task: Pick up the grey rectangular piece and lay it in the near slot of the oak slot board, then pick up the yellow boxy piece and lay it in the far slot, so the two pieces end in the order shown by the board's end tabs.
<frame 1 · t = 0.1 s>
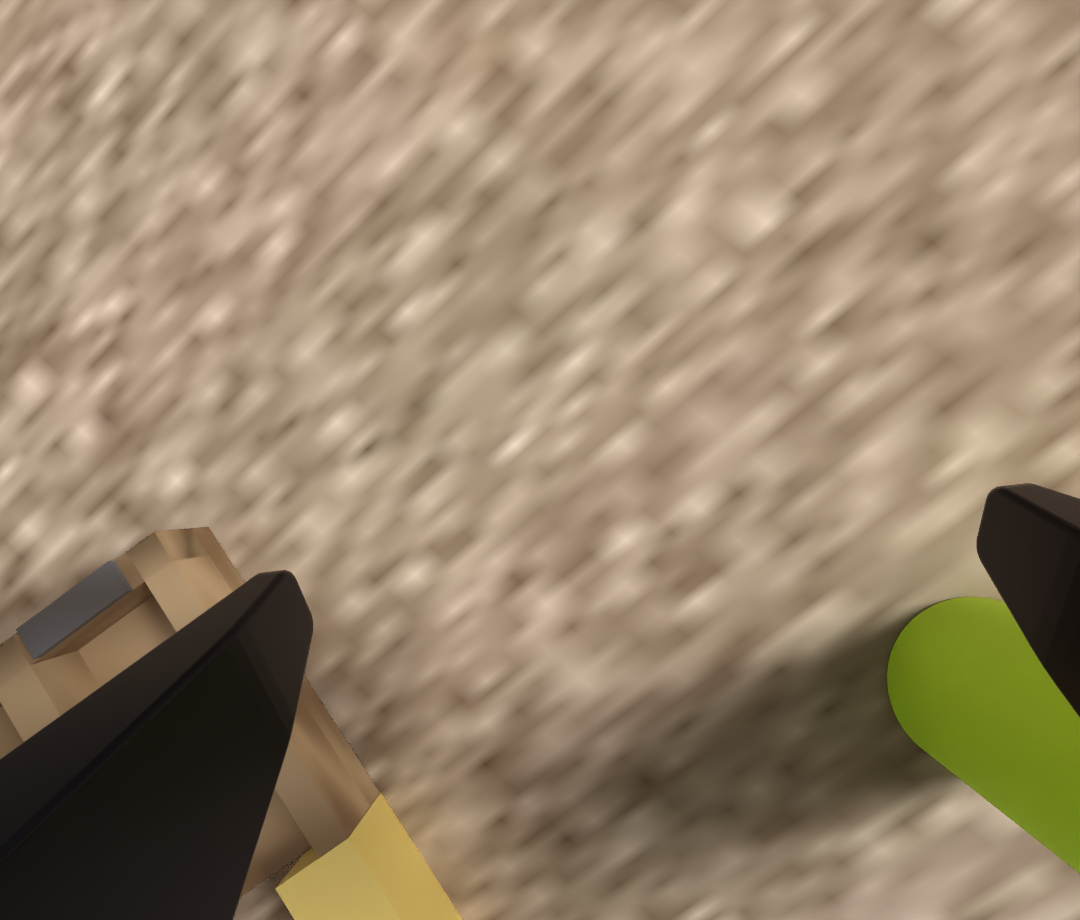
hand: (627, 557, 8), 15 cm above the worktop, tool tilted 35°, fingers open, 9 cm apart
soap dispenser: (968, 665, 22), on the worktop
slot board: (147, 760, 24), on the worktop
yellow boxy piece: (402, 894, 23), on the worktop
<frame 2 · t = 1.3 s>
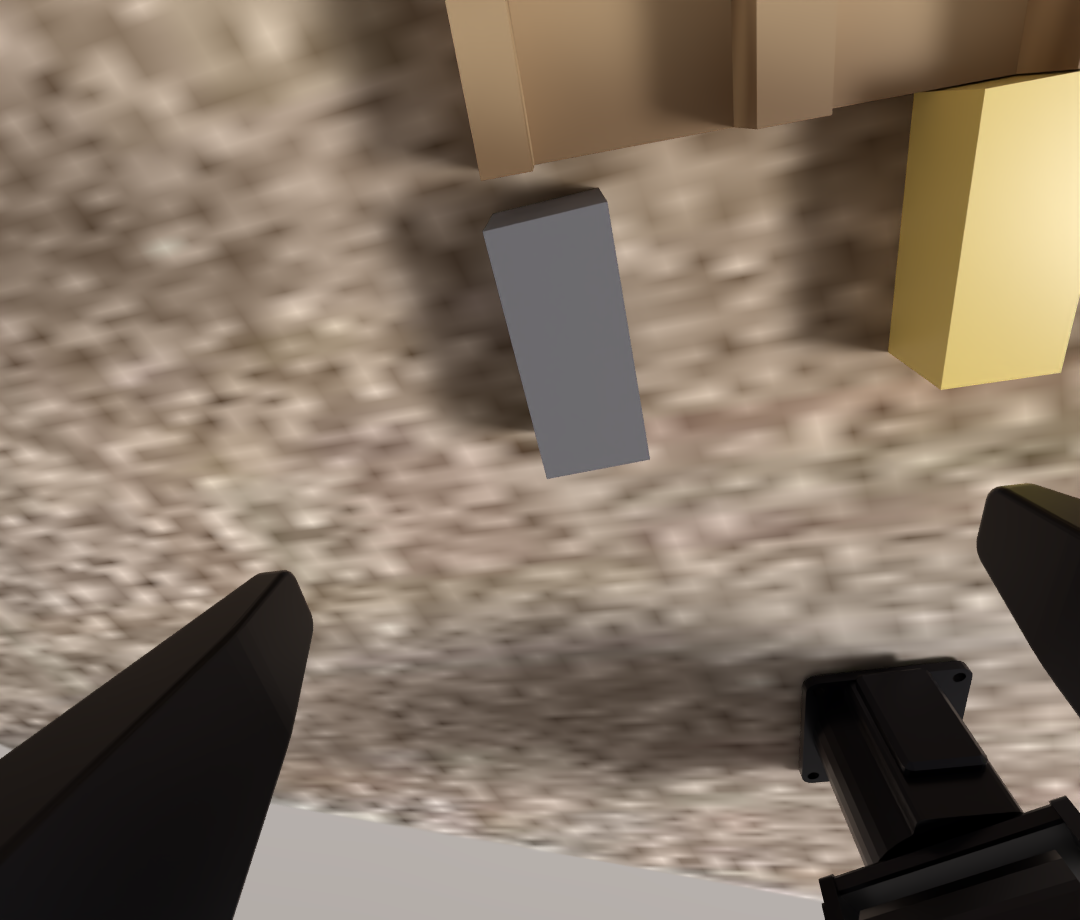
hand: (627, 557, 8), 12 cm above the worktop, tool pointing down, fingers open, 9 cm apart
yellow boxy piece: (951, 224, 18), on the worktop
grey rectangular piece: (570, 320, 19), on the worktop
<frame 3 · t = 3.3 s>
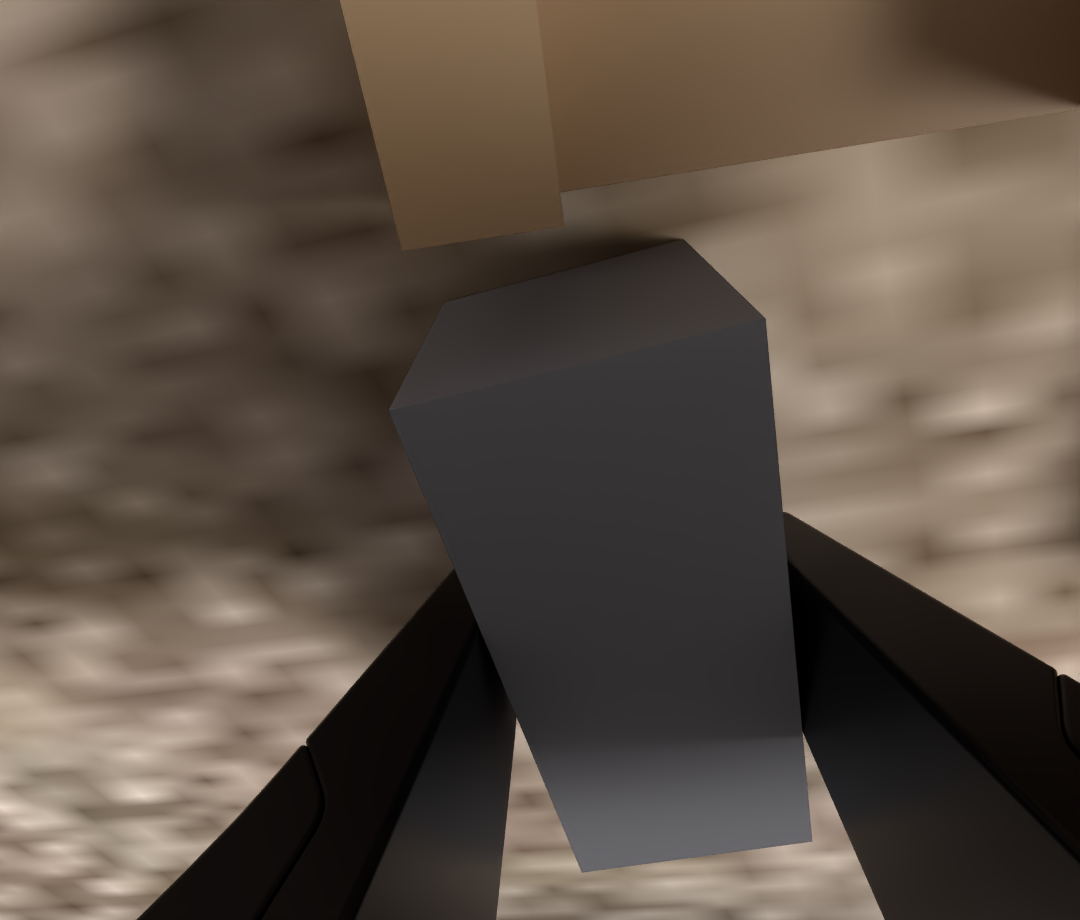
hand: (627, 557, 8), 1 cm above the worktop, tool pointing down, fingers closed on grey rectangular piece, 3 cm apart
grey rectangular piece: (617, 504, 9), on the worktop, touching gripper
when the fingers open (4 cm above the worktop, at t = 6.3 s): grey rectangular piece drops 2 cm, resting on slot board.
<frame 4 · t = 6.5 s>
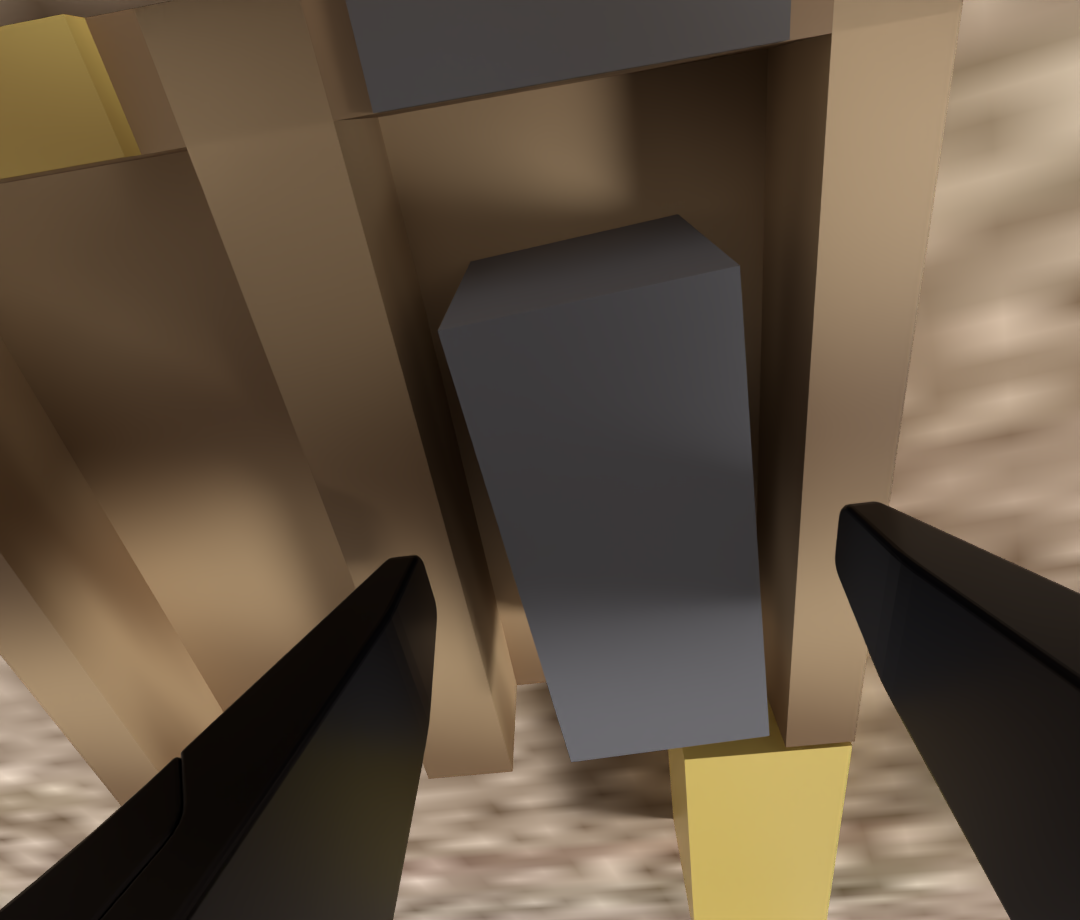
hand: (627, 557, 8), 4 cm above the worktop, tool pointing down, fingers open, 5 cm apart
slot board: (420, 419, 11), on the worktop
yellow boxy piece: (725, 726, 16), on the worktop
grey rectangular piece: (611, 449, 11), point 1 cm above the worktop, touching slot board
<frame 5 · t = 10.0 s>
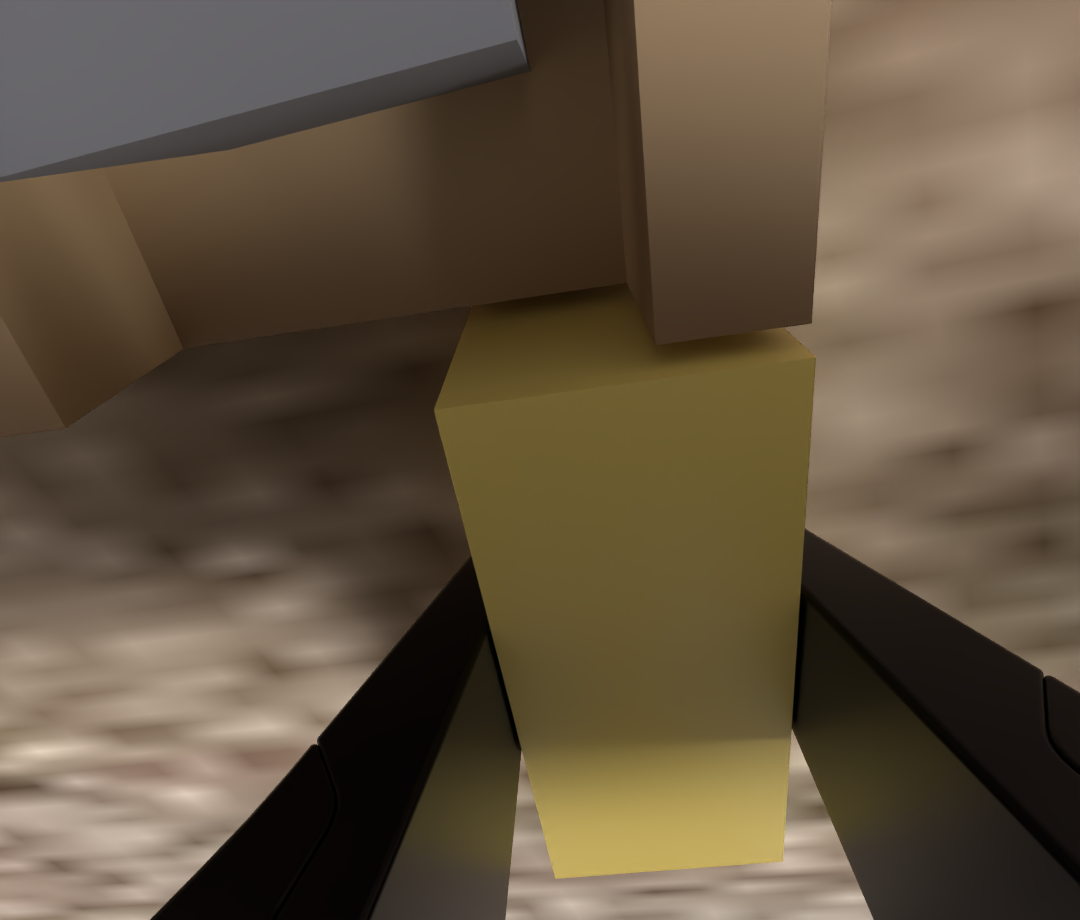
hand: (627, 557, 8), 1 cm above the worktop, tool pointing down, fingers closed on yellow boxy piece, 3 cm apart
yellow boxy piece: (618, 516, 9), on the worktop, touching gripper
when the fingers open (4 cm above the worktop, at t = 13.0 s): yellow boxy piece drops 2 cm, resting on slot board.
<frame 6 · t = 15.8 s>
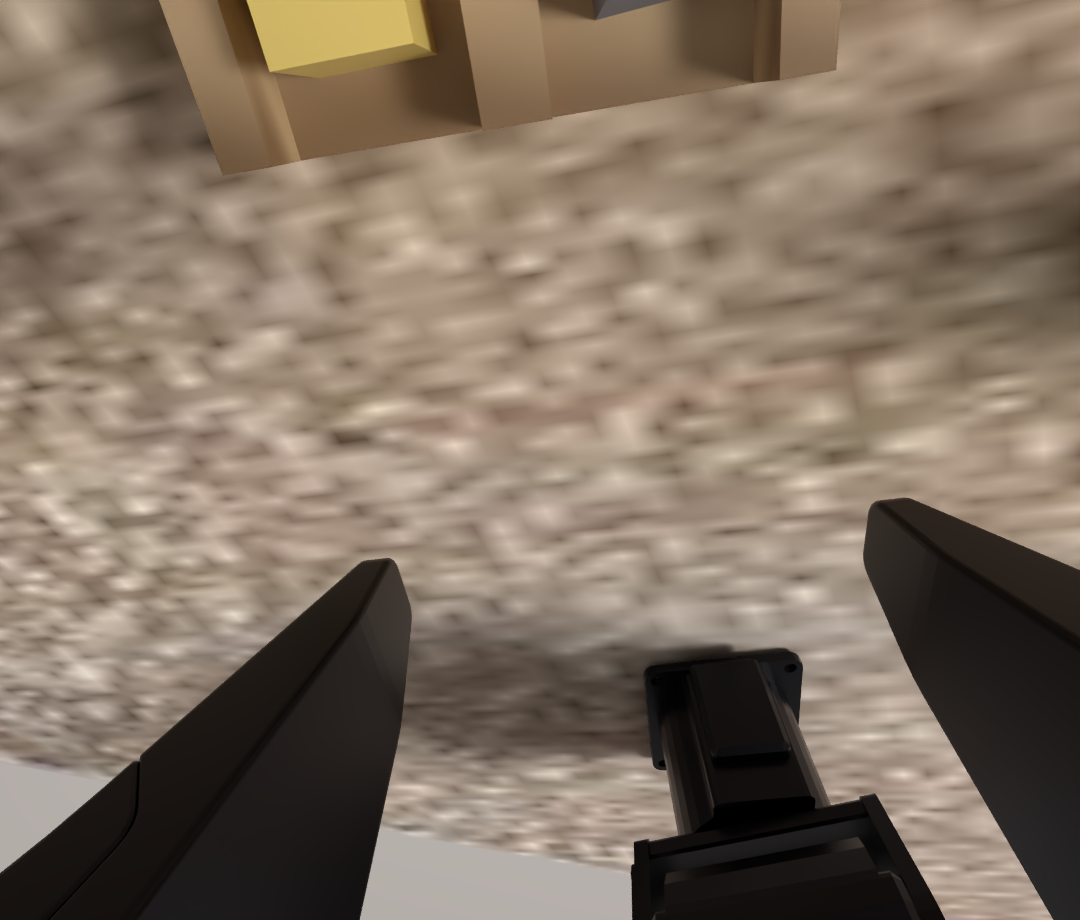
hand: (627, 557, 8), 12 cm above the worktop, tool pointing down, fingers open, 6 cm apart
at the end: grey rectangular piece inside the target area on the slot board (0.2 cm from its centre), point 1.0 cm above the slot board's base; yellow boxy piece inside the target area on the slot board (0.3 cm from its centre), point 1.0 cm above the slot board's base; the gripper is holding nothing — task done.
